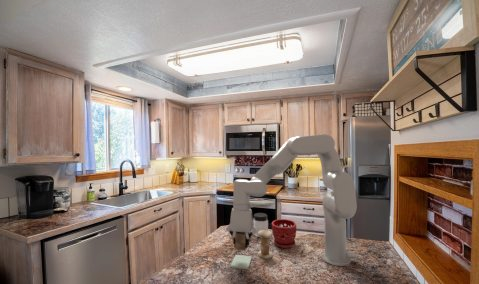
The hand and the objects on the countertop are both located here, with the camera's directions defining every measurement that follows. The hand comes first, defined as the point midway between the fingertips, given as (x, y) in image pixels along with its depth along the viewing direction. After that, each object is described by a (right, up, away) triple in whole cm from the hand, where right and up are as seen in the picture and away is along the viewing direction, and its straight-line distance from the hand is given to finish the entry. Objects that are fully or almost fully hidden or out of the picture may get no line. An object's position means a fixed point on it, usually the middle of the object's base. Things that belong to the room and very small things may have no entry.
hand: (241, 245), depth 101 cm
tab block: (0, -1, 0) cm, 1 cm away
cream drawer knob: (+12, -8, +7) cm, 16 cm away
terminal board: (0, -8, 0) cm, 8 cm away
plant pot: (+24, -8, +18) cm, 31 cm away
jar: (+12, -9, +32) cm, 35 cm away
